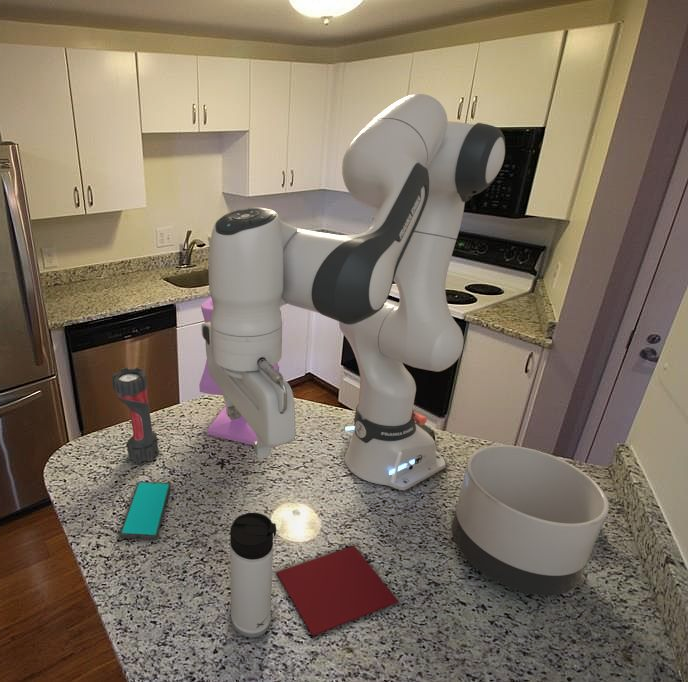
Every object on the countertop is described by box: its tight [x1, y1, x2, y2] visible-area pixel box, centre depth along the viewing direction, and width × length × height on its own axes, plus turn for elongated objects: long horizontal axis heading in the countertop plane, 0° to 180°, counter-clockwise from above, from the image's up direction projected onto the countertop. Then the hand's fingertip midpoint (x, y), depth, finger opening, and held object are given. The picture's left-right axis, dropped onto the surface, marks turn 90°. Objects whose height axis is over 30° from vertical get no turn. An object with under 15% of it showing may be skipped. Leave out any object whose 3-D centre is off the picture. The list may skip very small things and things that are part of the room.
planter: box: [451, 444, 610, 597], centre depth 80 cm, size 19×19×18 cm
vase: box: [198, 296, 280, 446], centre depth 116 cm, size 16×16×35 cm
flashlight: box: [111, 366, 160, 464], centre depth 108 cm, size 8×8×23 cm
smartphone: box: [119, 481, 171, 541], centre depth 96 cm, size 7×1×15 cm
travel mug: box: [229, 512, 277, 638], centre depth 70 cm, size 6×7×20 cm
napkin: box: [276, 545, 399, 637], centre depth 79 cm, size 16×12×1 cm
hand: (247, 434), depth 64 cm, fingers open, 8 cm apart
